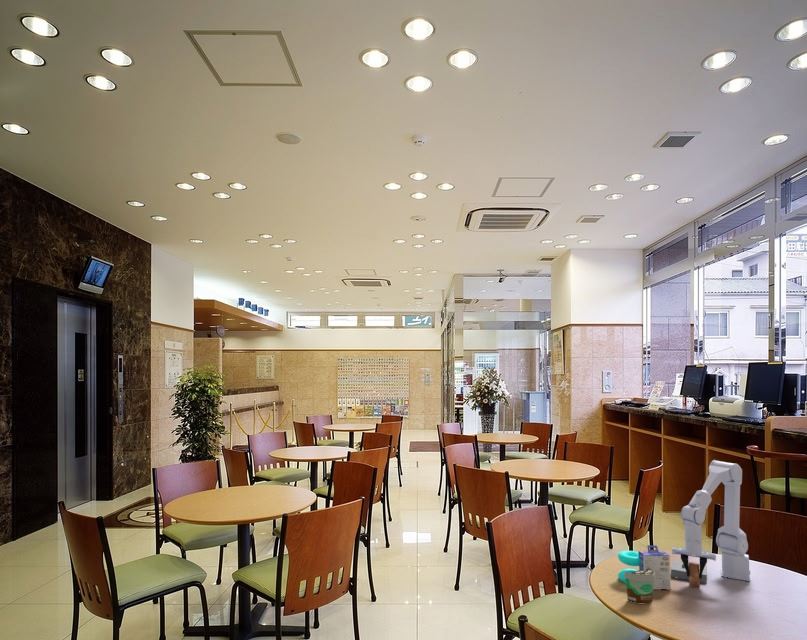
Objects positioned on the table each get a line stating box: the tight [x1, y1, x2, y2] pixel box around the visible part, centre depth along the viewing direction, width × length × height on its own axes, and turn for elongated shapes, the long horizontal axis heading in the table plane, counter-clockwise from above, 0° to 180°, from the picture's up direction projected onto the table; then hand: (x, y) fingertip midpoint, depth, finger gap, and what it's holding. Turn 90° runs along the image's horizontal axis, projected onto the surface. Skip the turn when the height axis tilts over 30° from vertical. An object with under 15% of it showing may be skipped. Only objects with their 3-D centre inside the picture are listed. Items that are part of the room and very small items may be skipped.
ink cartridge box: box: [638, 544, 671, 591], centre depth 209 cm, size 10×6×14 cm, turn 88°
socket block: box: [670, 559, 708, 584], centre depth 221 cm, size 12×12×3 cm
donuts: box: [617, 550, 640, 584], centre depth 215 cm, size 10×10×10 cm
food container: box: [624, 567, 656, 604], centre depth 196 cm, size 12×6×10 cm, turn 117°
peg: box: [688, 561, 701, 588], centre depth 211 cm, size 4×4×8 cm
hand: (694, 576), depth 211 cm, fingers closed on peg, 3 cm apart
